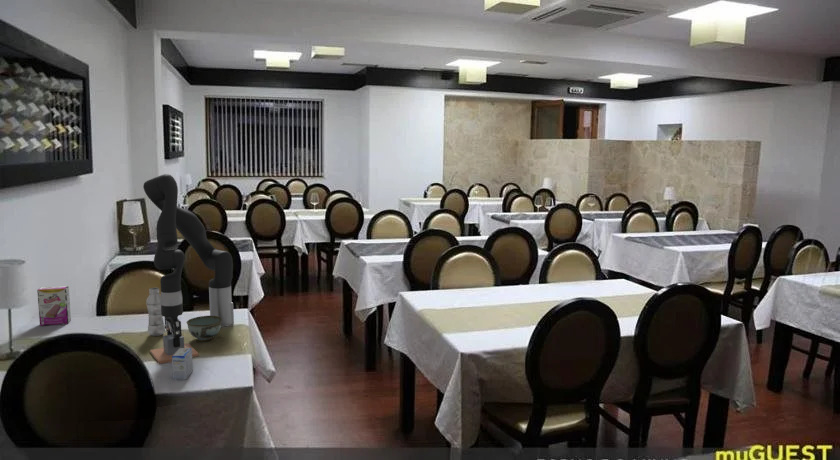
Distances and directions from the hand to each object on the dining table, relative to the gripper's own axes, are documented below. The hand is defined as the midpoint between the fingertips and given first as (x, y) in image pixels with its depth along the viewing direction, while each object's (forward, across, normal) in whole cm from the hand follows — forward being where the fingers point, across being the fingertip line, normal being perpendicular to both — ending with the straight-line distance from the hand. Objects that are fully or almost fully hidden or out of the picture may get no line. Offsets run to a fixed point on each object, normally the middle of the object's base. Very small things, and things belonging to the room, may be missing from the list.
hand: (173, 343), depth 220 cm
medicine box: (+4, -23, +3) cm, 24 cm away
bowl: (+4, +11, -15) cm, 19 cm away
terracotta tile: (+4, 0, 0) cm, 4 cm away
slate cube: (+3, 0, 0) cm, 3 cm away
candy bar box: (+4, +69, +32) cm, 76 cm away
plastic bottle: (+4, +27, 0) cm, 27 cm away
